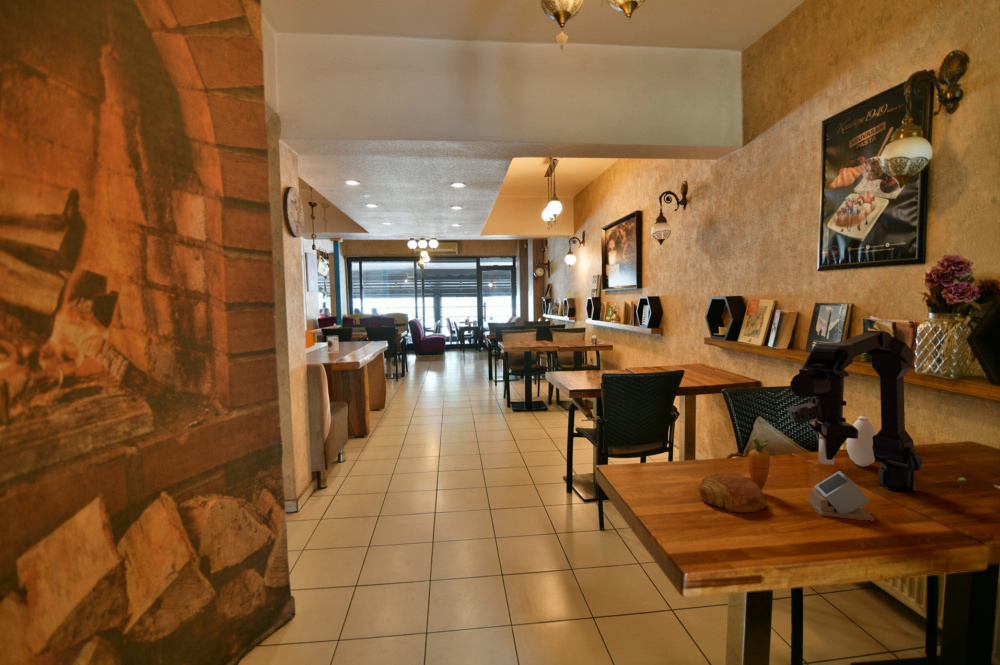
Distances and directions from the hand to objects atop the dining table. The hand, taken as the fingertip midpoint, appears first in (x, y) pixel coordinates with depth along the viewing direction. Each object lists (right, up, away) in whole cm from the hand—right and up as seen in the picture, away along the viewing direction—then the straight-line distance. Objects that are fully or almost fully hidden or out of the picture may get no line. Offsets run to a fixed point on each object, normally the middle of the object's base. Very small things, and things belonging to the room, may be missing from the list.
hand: (826, 457), depth 113 cm
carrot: (-11, -12, +10) cm, 19 cm away
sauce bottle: (+32, -11, +30) cm, 45 cm away
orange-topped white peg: (0, -1, 0) cm, 1 cm away
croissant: (-21, -13, +4) cm, 25 cm away
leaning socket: (+2, -13, -2) cm, 13 cm away
